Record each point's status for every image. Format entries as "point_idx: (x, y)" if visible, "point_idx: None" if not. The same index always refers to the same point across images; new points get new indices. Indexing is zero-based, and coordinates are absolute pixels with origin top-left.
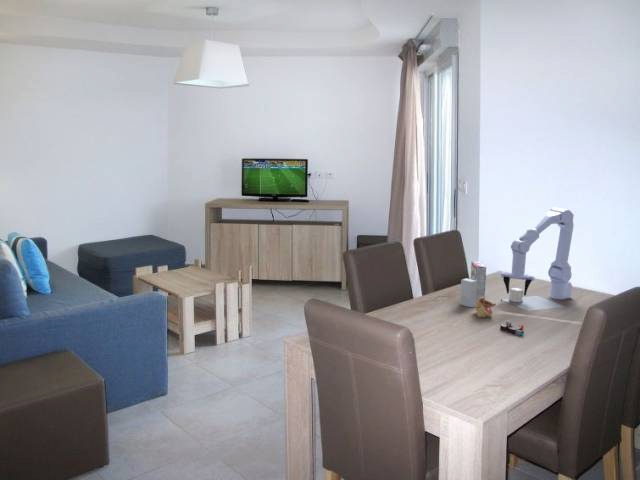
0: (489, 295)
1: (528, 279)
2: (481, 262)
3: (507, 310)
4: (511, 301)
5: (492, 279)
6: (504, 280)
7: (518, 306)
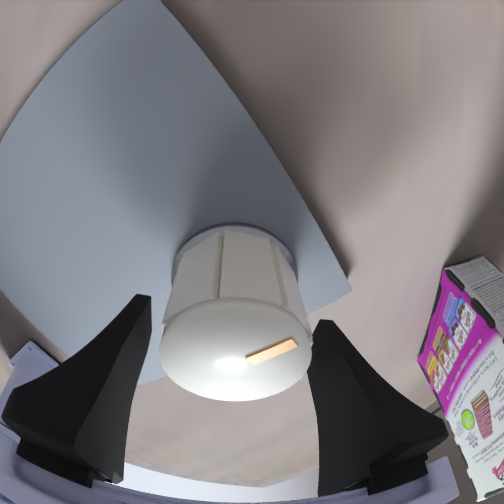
0: (375, 361)
1: (59, 476)
2: (487, 497)
3: (329, 16)
4: (278, 239)
5: (296, 467)
6: (437, 424)
7: (216, 92)
